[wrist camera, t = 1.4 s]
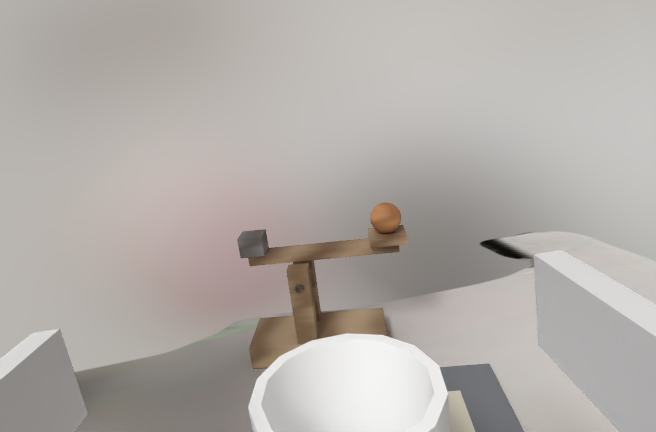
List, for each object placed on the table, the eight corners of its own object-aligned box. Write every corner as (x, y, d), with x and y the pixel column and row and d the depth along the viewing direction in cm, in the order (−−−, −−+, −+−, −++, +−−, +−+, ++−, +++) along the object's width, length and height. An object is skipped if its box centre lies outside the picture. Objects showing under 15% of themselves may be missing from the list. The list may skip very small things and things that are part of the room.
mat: (366, 488, 31) (364, 480, 31) (360, 378, 42) (359, 372, 42) (544, 478, 30) (544, 470, 30) (489, 369, 42) (489, 362, 41)
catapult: (253, 368, 46) (226, 228, 42) (263, 336, 52) (240, 210, 48) (417, 355, 45) (406, 209, 41) (409, 324, 51) (399, 194, 46)
